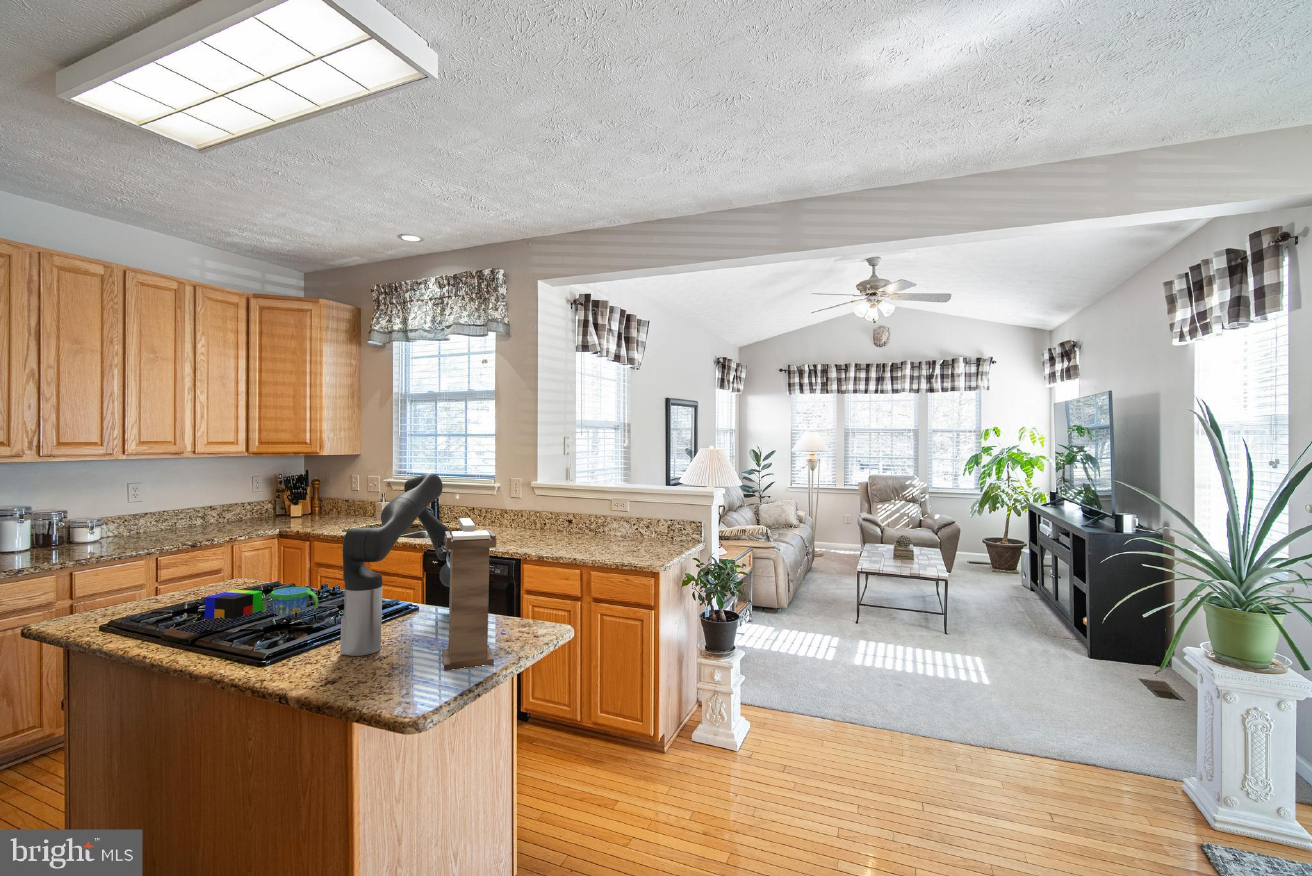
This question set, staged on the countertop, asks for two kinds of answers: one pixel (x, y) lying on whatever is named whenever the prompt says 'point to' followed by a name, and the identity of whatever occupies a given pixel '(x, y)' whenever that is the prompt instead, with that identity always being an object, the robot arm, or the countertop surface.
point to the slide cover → (469, 531)
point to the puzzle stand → (468, 603)
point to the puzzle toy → (233, 604)
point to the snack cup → (289, 600)
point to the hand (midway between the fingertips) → (462, 536)
